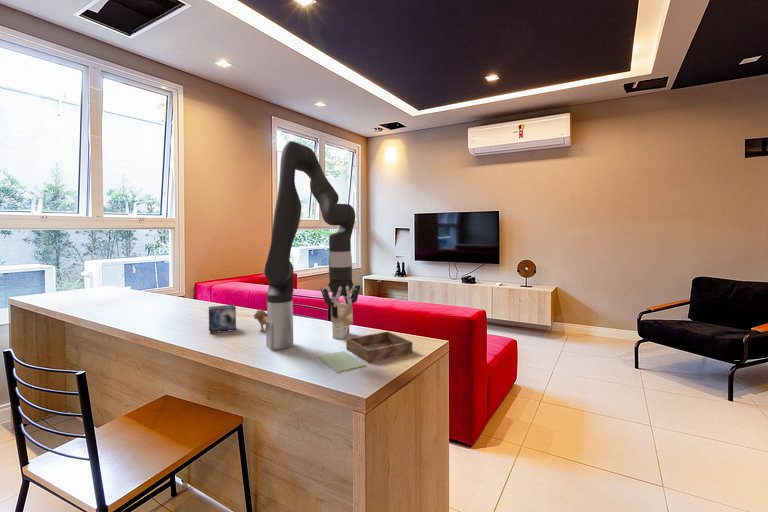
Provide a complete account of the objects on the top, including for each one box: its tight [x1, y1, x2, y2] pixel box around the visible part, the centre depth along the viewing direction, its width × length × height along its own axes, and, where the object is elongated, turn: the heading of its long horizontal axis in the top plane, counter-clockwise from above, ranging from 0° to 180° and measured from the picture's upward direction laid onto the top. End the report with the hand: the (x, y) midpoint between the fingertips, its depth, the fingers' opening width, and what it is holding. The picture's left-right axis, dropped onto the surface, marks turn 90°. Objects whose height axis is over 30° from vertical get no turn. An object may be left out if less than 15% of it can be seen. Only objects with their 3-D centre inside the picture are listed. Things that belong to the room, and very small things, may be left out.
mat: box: [317, 350, 367, 373], centre depth 121 cm, size 10×16×1 cm, turn 32°
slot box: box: [345, 331, 413, 363], centre depth 131 cm, size 18×16×4 cm
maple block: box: [330, 301, 354, 326], centre depth 120 cm, size 4×8×6 cm, turn 33°
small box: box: [208, 304, 237, 333], centre depth 159 cm, size 11×6×10 cm, turn 119°
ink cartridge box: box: [331, 300, 350, 340], centre depth 150 cm, size 9×5×15 cm, turn 168°
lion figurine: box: [253, 309, 267, 332], centre depth 156 cm, size 15×5×9 cm, turn 53°
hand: (341, 316), depth 121 cm, fingers closed on maple block, 4 cm apart
